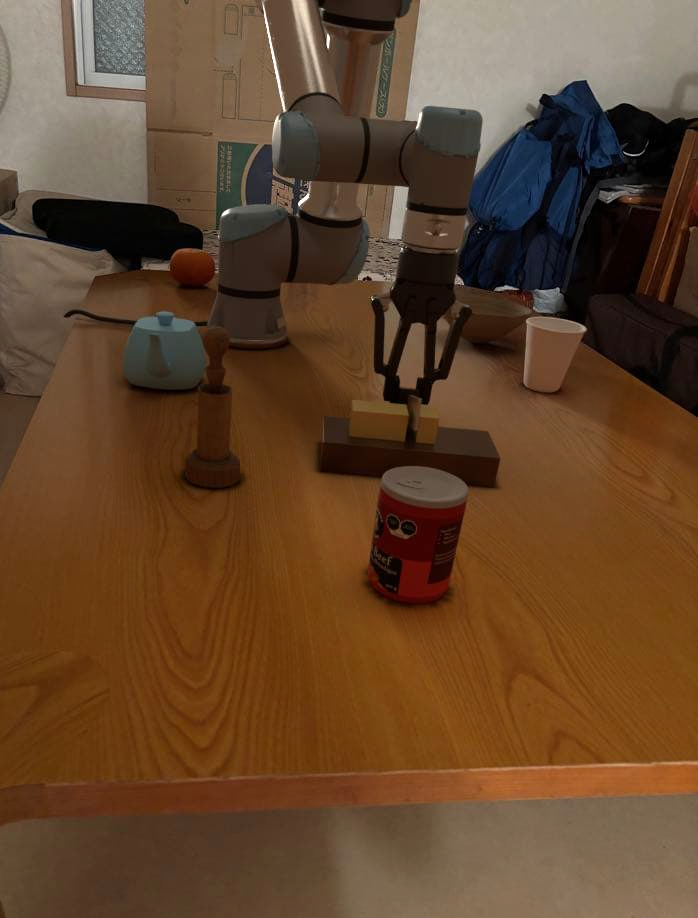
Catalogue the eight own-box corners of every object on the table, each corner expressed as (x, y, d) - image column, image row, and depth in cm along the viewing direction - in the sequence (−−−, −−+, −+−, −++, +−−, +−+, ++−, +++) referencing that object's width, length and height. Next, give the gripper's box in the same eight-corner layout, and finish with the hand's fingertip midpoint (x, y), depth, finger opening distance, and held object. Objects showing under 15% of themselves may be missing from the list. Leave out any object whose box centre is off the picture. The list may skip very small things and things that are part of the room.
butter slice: (415, 442, 98) (420, 416, 96) (412, 430, 101) (417, 405, 99) (434, 444, 98) (439, 418, 96) (431, 432, 101) (435, 407, 99)
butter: (349, 436, 98) (352, 410, 96) (348, 425, 101) (352, 399, 99) (404, 441, 98) (408, 415, 96) (402, 429, 101) (406, 404, 99)
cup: (572, 400, 130) (590, 335, 125) (513, 392, 131) (528, 327, 126) (566, 382, 139) (583, 321, 133) (510, 375, 140) (524, 313, 134)
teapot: (107, 326, 108) (134, 297, 124) (110, 399, 113) (135, 362, 129) (197, 334, 108) (212, 304, 124) (196, 406, 114) (211, 369, 129)
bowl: (465, 326, 169) (472, 289, 165) (540, 348, 158) (549, 308, 154) (413, 337, 157) (419, 297, 153) (490, 362, 146) (499, 319, 142)
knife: (426, 432, 93) (431, 393, 92) (405, 430, 93) (410, 391, 92) (408, 420, 112) (412, 387, 111) (390, 418, 112) (394, 386, 111)
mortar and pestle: (247, 472, 95) (255, 326, 86) (227, 493, 90) (233, 339, 81) (198, 461, 97) (201, 317, 88) (175, 481, 92) (175, 329, 83)
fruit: (163, 286, 179) (163, 250, 175) (176, 278, 188) (177, 243, 184) (208, 292, 178) (209, 255, 174) (219, 283, 187) (220, 248, 183)
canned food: (360, 562, 79) (374, 463, 73) (436, 563, 80) (456, 466, 74) (373, 605, 72) (390, 500, 67) (456, 606, 73) (479, 503, 68)
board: (319, 471, 97) (323, 441, 95) (321, 443, 105) (324, 415, 103) (494, 487, 97) (500, 458, 95) (482, 458, 105) (488, 431, 103)
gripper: (369, 246, 94) (346, 428, 105) (498, 259, 94) (461, 439, 105) (366, 237, 100) (345, 409, 112) (487, 249, 100) (453, 420, 112)
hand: (401, 423), depth 108 cm, fingers closed on knife, 3 cm apart
